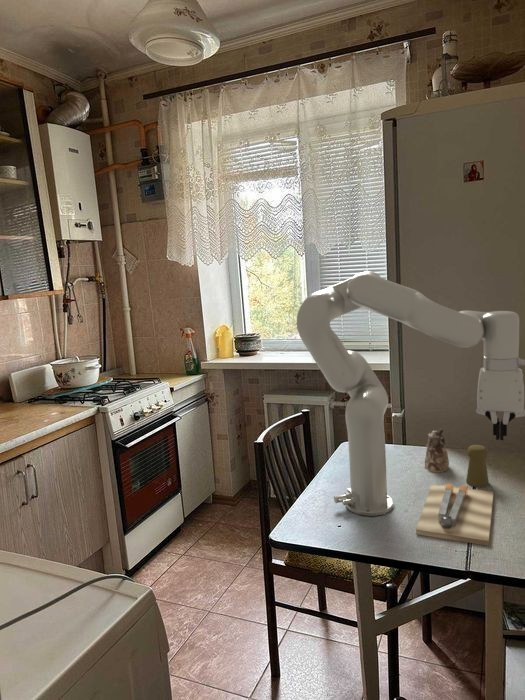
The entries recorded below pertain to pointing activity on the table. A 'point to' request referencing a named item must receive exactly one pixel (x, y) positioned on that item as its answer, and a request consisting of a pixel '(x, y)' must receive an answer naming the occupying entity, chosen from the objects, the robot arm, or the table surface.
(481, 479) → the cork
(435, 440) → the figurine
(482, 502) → the board
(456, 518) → the tongs arm
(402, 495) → the table surface
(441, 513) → the arm
